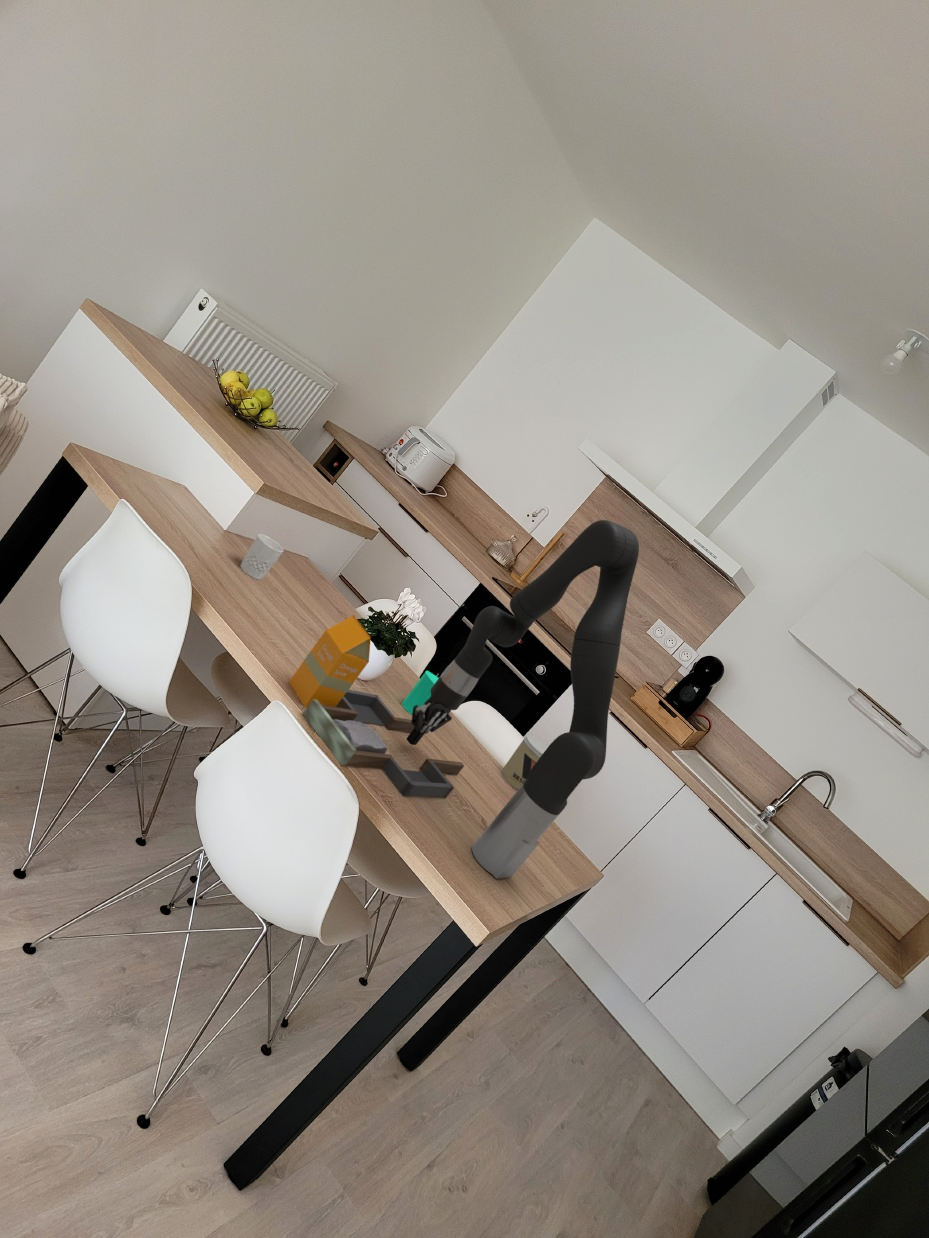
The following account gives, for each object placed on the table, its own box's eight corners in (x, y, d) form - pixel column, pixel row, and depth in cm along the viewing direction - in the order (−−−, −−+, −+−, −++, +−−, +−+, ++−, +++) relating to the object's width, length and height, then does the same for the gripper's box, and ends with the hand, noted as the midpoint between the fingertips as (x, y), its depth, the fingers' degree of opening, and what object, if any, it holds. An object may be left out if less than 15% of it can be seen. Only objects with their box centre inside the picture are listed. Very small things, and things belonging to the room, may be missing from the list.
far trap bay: (387, 726, 192) (395, 717, 191) (344, 720, 180) (351, 709, 179) (369, 704, 196) (376, 695, 196) (325, 696, 184) (333, 686, 183)
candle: (398, 702, 210) (425, 666, 207) (408, 701, 215) (435, 666, 213) (414, 718, 208) (442, 681, 205) (424, 716, 213) (451, 681, 211)
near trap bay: (446, 797, 179) (454, 787, 179) (403, 795, 167) (411, 785, 166) (425, 772, 184) (433, 762, 183) (381, 768, 171) (390, 758, 170)
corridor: (457, 775, 194) (467, 762, 193) (340, 765, 161) (352, 750, 160) (420, 731, 202) (429, 719, 202) (302, 713, 169) (313, 699, 168)
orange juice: (304, 706, 173) (357, 632, 168) (288, 681, 178) (339, 609, 174) (331, 713, 178) (384, 642, 174) (315, 688, 184) (366, 619, 180)
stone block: (318, 734, 171) (349, 759, 165) (328, 714, 170) (360, 738, 165) (353, 738, 181) (383, 762, 175) (363, 719, 180) (394, 743, 175)
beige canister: (503, 783, 209) (532, 748, 206) (494, 763, 217) (522, 729, 215) (531, 798, 213) (559, 763, 210) (521, 777, 221) (548, 744, 219)
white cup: (232, 563, 219) (252, 533, 217) (247, 563, 226) (266, 534, 224) (254, 581, 217) (275, 551, 215) (268, 580, 225) (288, 551, 223)
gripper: (448, 691, 176) (402, 751, 180) (480, 698, 187) (436, 755, 190) (428, 669, 180) (383, 729, 184) (461, 677, 191) (418, 733, 195)
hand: (410, 742), depth 187 cm, fingers closed
